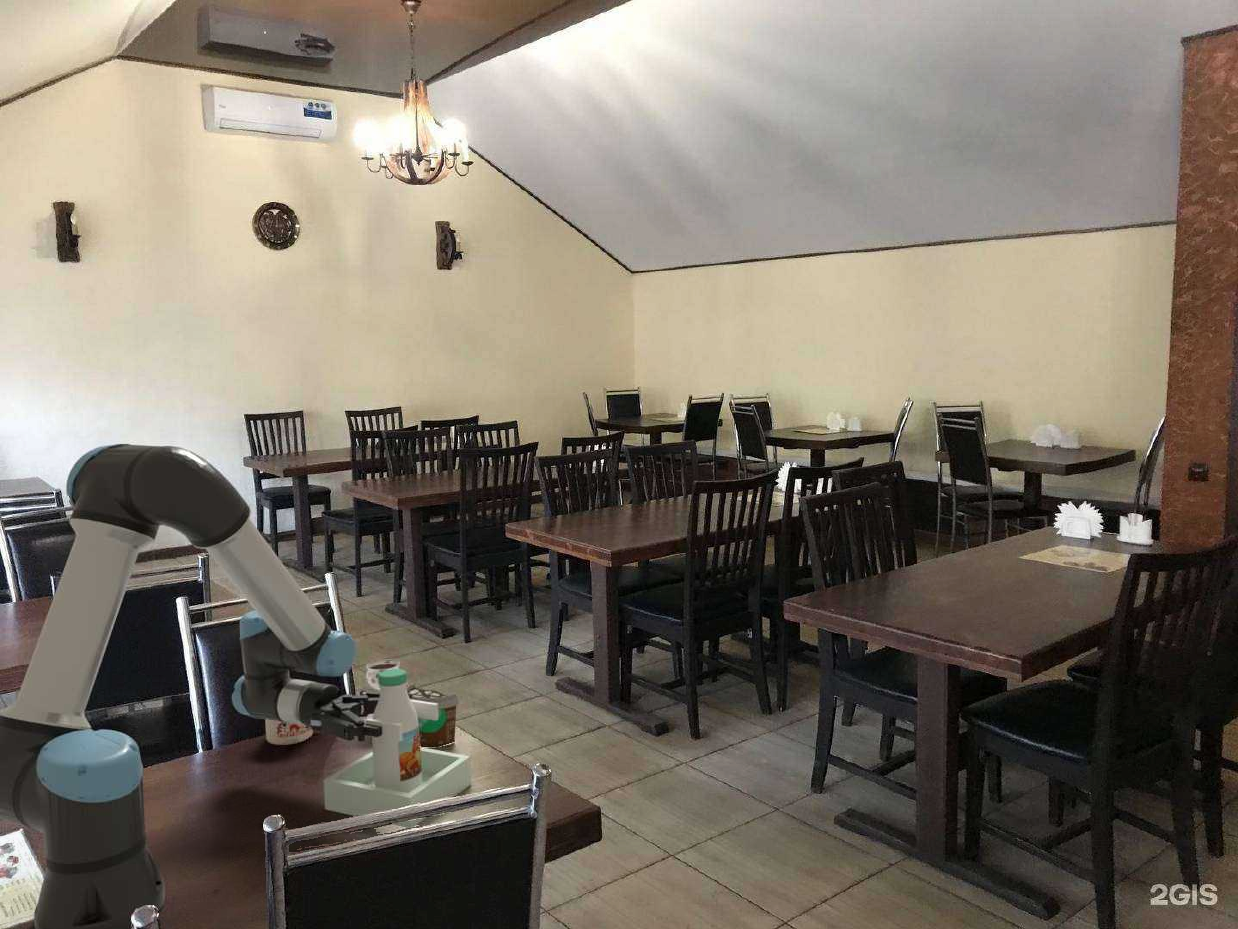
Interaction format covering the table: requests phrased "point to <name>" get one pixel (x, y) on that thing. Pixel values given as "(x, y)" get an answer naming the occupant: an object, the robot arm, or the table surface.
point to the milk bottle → (391, 758)
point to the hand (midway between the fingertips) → (419, 722)
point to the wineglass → (379, 670)
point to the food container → (444, 727)
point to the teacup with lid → (286, 732)
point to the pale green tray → (361, 796)
